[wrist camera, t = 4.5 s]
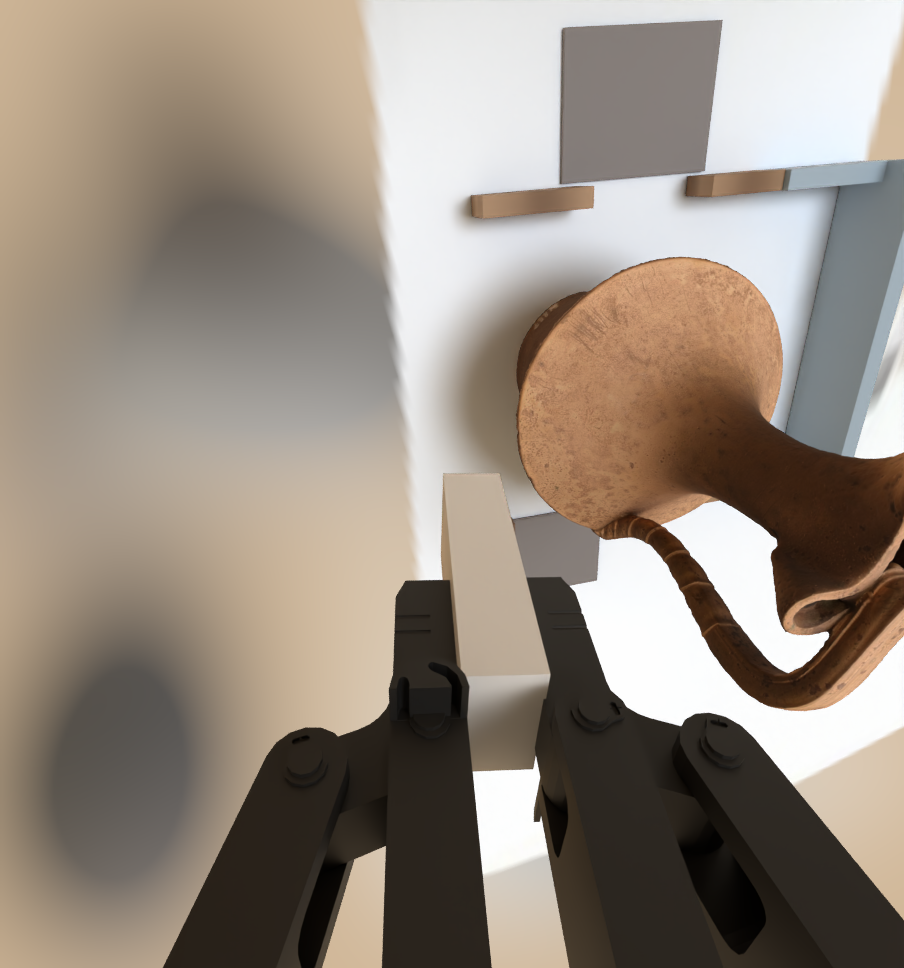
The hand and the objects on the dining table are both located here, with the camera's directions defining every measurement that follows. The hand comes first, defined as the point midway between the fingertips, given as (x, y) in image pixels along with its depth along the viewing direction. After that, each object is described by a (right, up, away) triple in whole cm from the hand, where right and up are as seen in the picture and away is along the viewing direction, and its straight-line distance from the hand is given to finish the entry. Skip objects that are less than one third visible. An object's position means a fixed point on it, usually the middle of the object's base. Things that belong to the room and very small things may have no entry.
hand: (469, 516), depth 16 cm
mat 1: (+8, -5, +35) cm, 36 cm away
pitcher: (+9, +10, +28) cm, 31 cm away
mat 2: (+11, +25, +20) cm, 34 cm away
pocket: (+25, +12, +30) cm, 41 cm away
